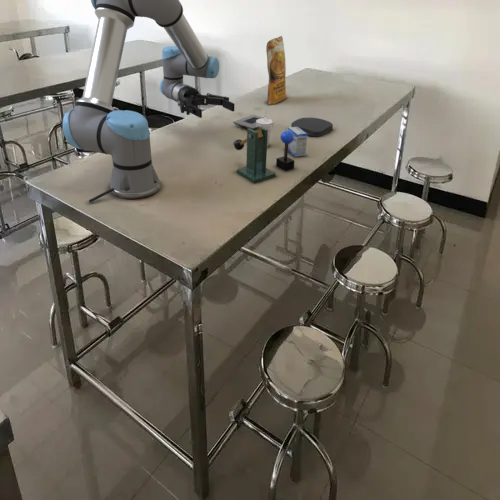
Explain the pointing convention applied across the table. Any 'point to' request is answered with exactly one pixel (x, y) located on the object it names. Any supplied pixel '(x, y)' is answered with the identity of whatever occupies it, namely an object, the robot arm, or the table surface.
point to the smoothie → (265, 125)
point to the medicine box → (298, 142)
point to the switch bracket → (256, 157)
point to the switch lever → (245, 141)
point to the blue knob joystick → (285, 153)
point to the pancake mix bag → (276, 70)
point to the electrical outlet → (248, 121)
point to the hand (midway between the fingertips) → (217, 110)
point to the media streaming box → (313, 126)
